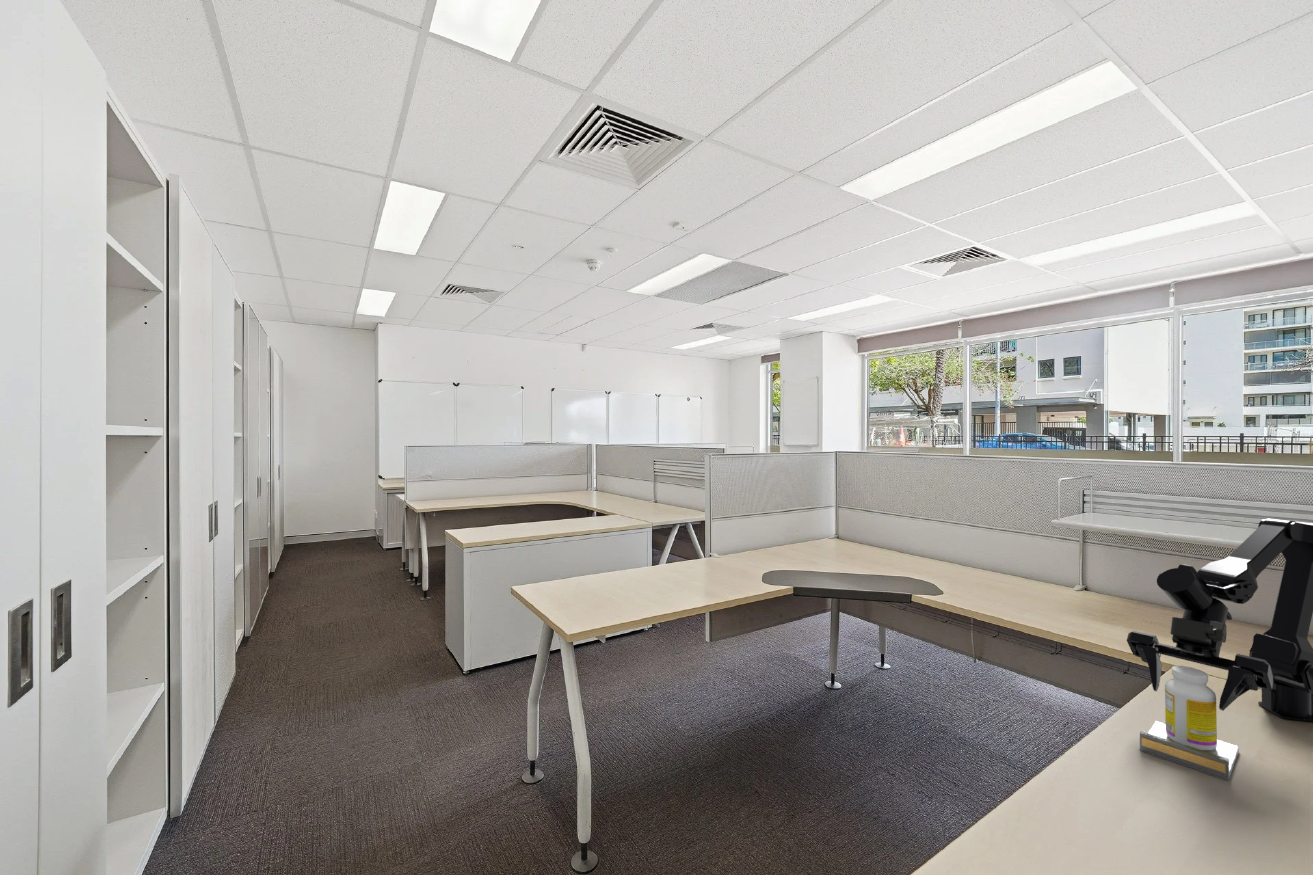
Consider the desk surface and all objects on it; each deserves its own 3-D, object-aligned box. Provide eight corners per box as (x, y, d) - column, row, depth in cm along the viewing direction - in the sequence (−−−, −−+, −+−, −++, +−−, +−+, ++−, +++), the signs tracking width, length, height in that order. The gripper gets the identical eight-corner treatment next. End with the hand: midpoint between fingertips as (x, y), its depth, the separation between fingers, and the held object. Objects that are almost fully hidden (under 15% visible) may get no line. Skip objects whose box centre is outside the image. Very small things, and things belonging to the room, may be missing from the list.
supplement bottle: (1225, 747, 96) (1225, 675, 96) (1202, 755, 94) (1202, 682, 94) (1179, 728, 103) (1178, 660, 102) (1156, 735, 100) (1156, 666, 100)
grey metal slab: (1156, 726, 105) (1155, 709, 105) (1238, 751, 97) (1238, 733, 97) (1139, 751, 97) (1139, 733, 97) (1228, 781, 89) (1227, 761, 89)
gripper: (1129, 589, 108) (1109, 657, 102) (1269, 614, 93) (1256, 696, 87) (1142, 620, 113) (1124, 688, 106) (1278, 649, 97) (1266, 730, 91)
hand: (1186, 699), depth 98 cm, fingers open, 8 cm apart
